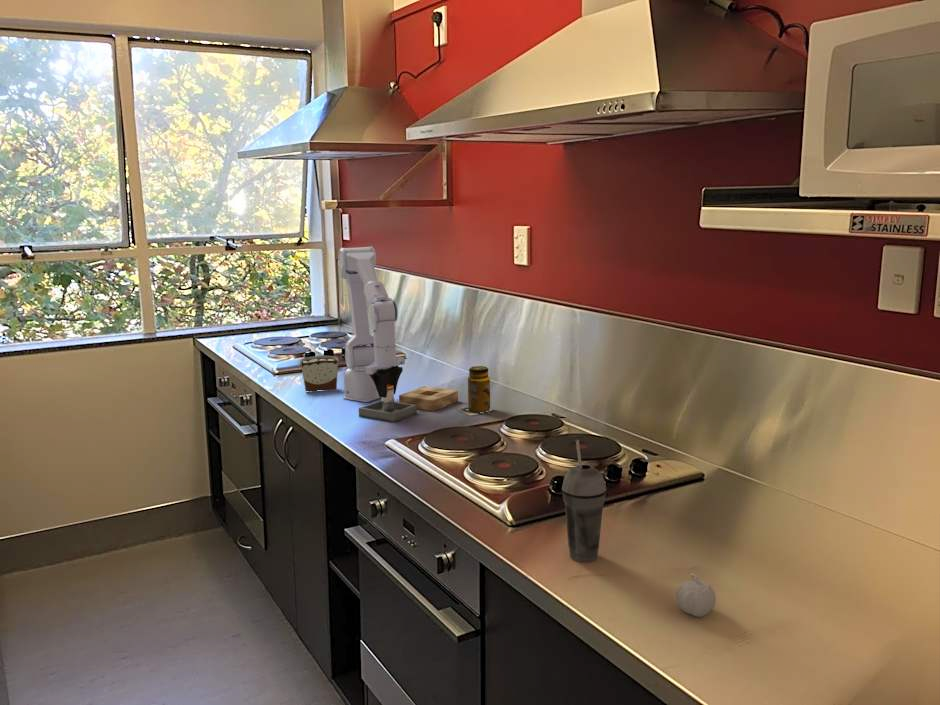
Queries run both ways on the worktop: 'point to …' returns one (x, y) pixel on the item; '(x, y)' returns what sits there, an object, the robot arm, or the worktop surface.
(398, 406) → the tray
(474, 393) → the condiment
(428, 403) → the socket block
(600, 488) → the beverage cup
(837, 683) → the worktop surface
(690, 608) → the garlic
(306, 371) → the food container
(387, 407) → the small glass vial
